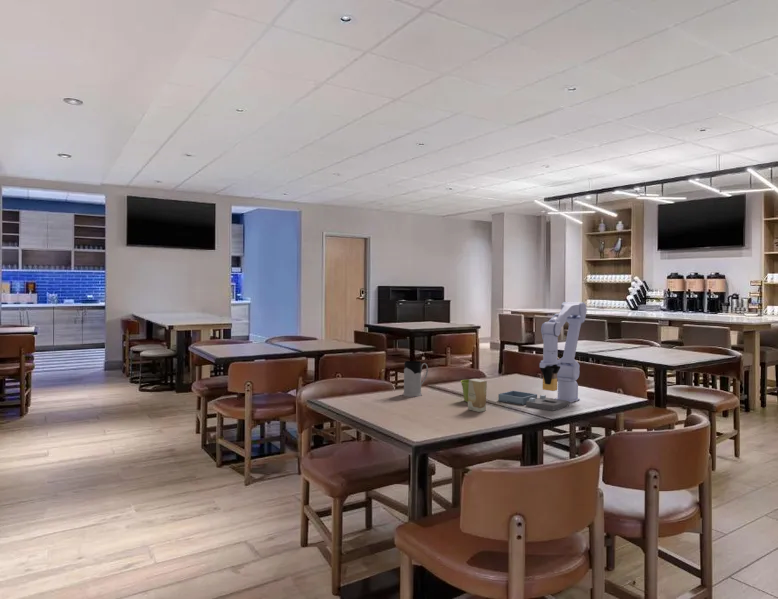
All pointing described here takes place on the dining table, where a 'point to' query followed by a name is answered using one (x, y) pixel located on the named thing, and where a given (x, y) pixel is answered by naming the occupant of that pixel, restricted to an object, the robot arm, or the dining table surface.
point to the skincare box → (477, 395)
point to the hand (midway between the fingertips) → (549, 383)
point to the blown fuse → (553, 383)
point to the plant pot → (465, 389)
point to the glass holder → (413, 378)
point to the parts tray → (516, 397)
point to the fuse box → (546, 403)
